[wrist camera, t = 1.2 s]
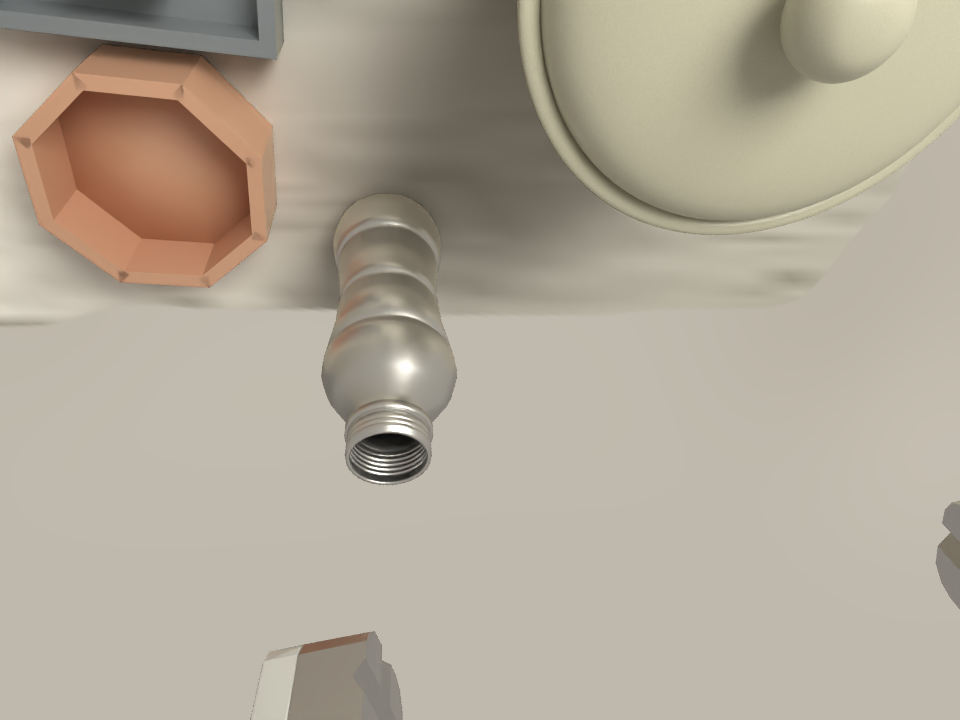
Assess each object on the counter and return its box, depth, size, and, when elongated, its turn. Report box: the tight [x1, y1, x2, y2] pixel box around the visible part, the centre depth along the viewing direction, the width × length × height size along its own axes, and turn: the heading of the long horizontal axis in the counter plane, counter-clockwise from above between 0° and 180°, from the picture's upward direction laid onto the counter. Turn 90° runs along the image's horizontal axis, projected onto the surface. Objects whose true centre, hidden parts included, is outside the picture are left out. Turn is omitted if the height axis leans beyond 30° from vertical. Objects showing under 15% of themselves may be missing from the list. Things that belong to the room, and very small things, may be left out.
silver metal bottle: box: [321, 193, 457, 485], centre depth 37 cm, size 6×7×20 cm
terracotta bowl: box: [12, 44, 277, 288], centre depth 38 cm, size 12×12×4 cm
